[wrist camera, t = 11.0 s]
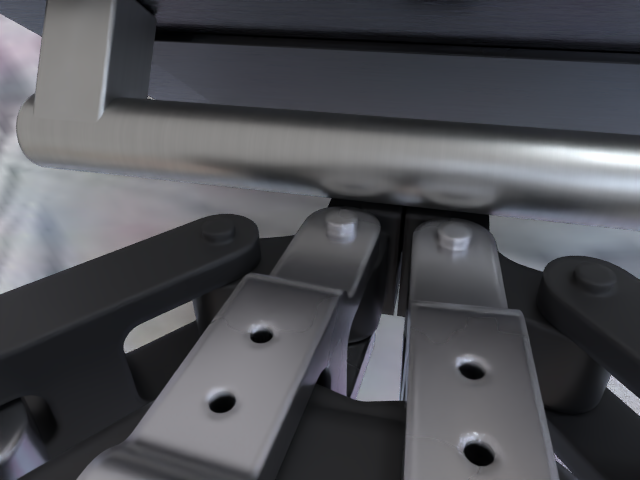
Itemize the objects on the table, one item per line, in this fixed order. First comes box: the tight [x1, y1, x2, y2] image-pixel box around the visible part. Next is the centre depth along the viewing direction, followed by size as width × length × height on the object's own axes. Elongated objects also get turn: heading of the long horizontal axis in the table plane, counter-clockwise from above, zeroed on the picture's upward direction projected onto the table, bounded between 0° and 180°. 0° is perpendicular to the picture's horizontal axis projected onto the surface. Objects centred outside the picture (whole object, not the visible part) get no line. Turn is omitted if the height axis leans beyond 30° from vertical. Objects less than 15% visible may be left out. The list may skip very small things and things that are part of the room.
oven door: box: [0, 0, 640, 231], centre depth 13 cm, size 5×18×13 cm, turn 81°
